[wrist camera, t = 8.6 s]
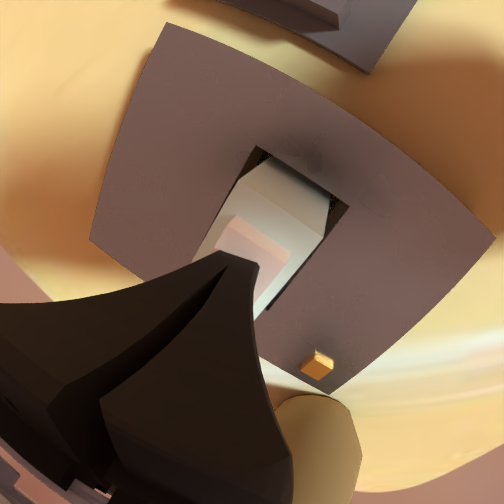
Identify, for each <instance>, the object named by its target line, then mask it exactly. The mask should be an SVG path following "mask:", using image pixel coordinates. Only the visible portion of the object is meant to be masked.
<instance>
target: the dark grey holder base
mask: <svg viewBox="0 0 504 504" xmlns="http://www.w3.org/2000/svg"><path fill="white" fill-rule="evenodd" d="M216 1H219V2H222V3H225V4H228V5H230V6H233V7H236V8H238V9H241V10H244V11H246V12H249V13H251V14H254V15H256V16H258V17H261V18H263V19H265V20H268V21H270V22H272V23H274V24H277V25H279V26H281V27H283V28H285V29H287V30H289V31H292V32H294V33H296V34H298V35H300V36H302V37H304V38H305V39H307V40H309V41H311V42H313V43H315V44H317V45H319V46H321V47H322V48H324V49H326V50H328V51H329V52H331V53H333V54H335V55H336V56H338V57H340V58H341V59H343V60H345V61H346V62H348V63H350V64H351V65H353V66H355V67H356V68H358V69H359V70H361V71H362V72H364V73H366V74H367V75H369V73H370V72H371V70H372V69H373V67H374V66H375V64H376V63H377V61H378V60H379V58H380V57H381V55H382V54H383V52H384V50H385V49H386V47H387V46H388V44H389V43H390V41H391V40H392V38H393V37H394V35H395V34H396V32H397V31H398V29H399V28H400V26H401V25H402V23H403V22H404V20H405V19H406V17H407V16H408V14H409V12H410V11H411V9H412V8H413V6H414V5H415V3H416V2H417V0H216Z"/></svg>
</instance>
